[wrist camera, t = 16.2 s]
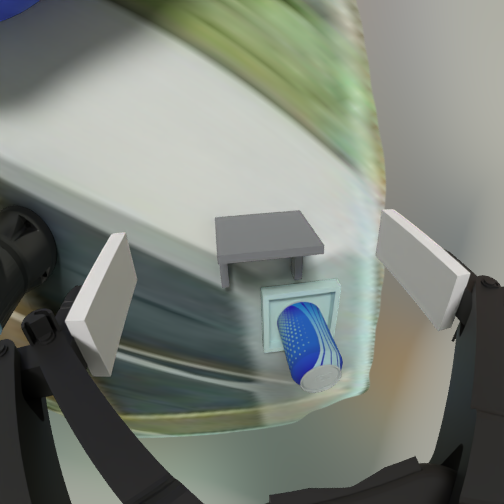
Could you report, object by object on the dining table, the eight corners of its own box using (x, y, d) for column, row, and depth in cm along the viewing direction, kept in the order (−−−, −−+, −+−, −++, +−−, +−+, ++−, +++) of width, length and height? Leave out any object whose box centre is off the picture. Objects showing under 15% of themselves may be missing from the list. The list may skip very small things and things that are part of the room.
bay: (221, 279, 54) (225, 326, 44) (215, 217, 49) (217, 255, 38) (298, 271, 55) (318, 315, 45) (299, 210, 50) (324, 245, 39)
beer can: (306, 335, 62) (330, 397, 48) (268, 327, 60) (285, 394, 46) (326, 302, 59) (357, 364, 45) (287, 292, 56) (311, 358, 42)
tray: (262, 344, 62) (264, 353, 60) (260, 287, 56) (262, 295, 54) (329, 334, 64) (332, 342, 62) (336, 278, 57) (341, 286, 55)
